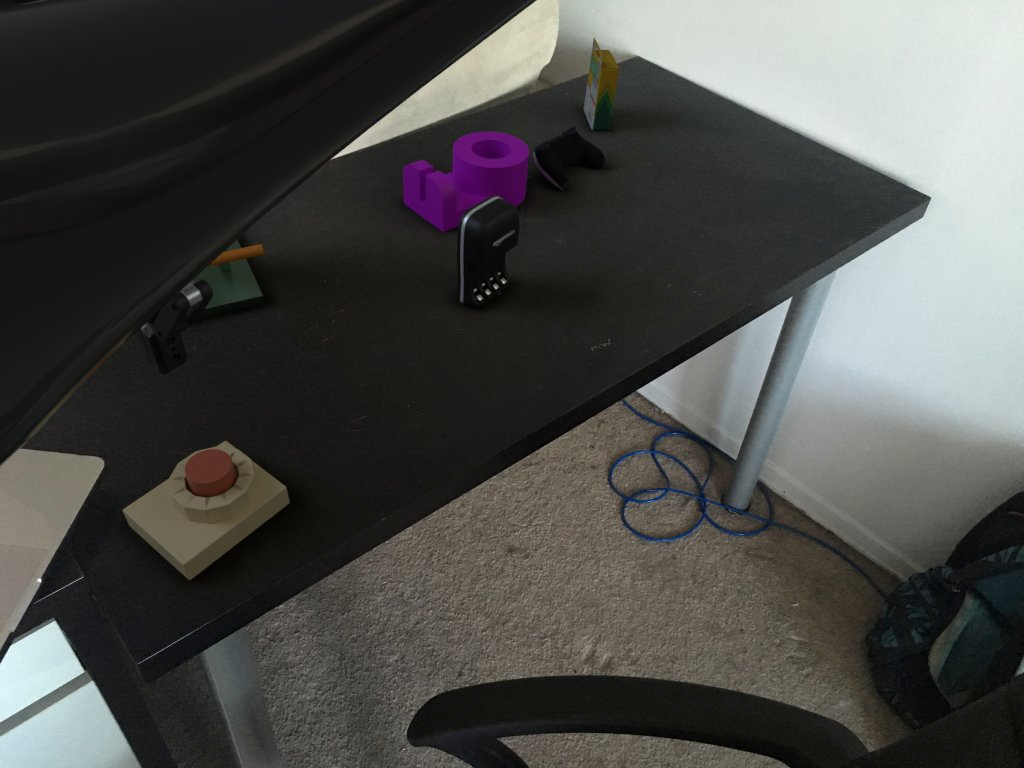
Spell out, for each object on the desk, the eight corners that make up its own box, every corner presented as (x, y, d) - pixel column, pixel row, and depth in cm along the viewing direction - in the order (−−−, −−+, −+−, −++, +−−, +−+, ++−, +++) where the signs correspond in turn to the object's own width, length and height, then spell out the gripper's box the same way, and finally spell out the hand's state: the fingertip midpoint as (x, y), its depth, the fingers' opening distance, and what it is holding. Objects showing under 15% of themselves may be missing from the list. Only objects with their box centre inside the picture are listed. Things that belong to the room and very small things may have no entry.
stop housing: (189, 581, 61) (177, 551, 58) (129, 526, 64) (115, 495, 62) (290, 503, 67) (283, 472, 64) (230, 456, 70) (221, 425, 68)
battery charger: (480, 316, 87) (484, 227, 79) (454, 302, 89) (455, 213, 81) (519, 288, 91) (526, 201, 83) (493, 275, 93) (498, 188, 85)
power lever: (265, 261, 80) (263, 246, 78) (161, 283, 76) (157, 268, 74) (229, 168, 85) (227, 152, 83) (130, 185, 81) (125, 168, 79)
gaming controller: (589, 174, 116) (566, 131, 115) (610, 161, 113) (586, 117, 112) (546, 200, 110) (520, 155, 109) (567, 188, 106) (540, 141, 105)
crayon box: (610, 131, 122) (622, 55, 114) (591, 131, 122) (602, 55, 114) (601, 110, 127) (611, 36, 119) (583, 110, 127) (592, 36, 119)
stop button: (208, 504, 62) (203, 490, 61) (180, 481, 64) (175, 467, 62) (245, 477, 64) (241, 464, 63) (217, 456, 66) (213, 442, 64)
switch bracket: (264, 304, 86) (242, 192, 77) (178, 324, 83) (145, 209, 73) (230, 229, 96) (207, 122, 87) (153, 244, 93) (120, 135, 83)
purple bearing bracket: (493, 167, 112) (495, 125, 107) (540, 196, 106) (544, 153, 102) (400, 200, 103) (398, 157, 99) (446, 234, 98) (447, 190, 94)
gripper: (225, 150, 43) (272, 378, 55) (87, 80, 49) (158, 301, 61) (100, 202, 39) (181, 438, 51) (-37, 119, 44) (66, 350, 56)
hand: (168, 363), depth 56 cm, fingers closed
